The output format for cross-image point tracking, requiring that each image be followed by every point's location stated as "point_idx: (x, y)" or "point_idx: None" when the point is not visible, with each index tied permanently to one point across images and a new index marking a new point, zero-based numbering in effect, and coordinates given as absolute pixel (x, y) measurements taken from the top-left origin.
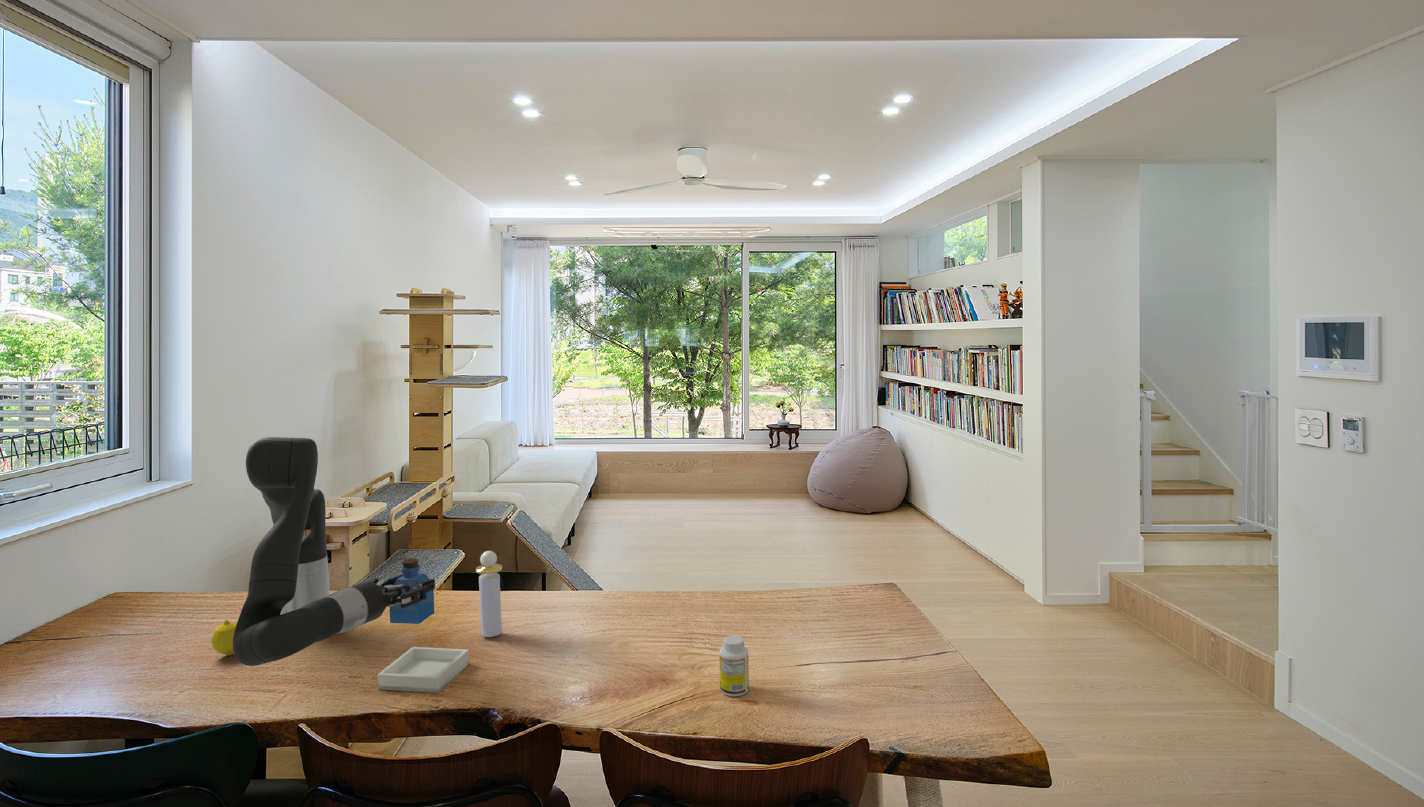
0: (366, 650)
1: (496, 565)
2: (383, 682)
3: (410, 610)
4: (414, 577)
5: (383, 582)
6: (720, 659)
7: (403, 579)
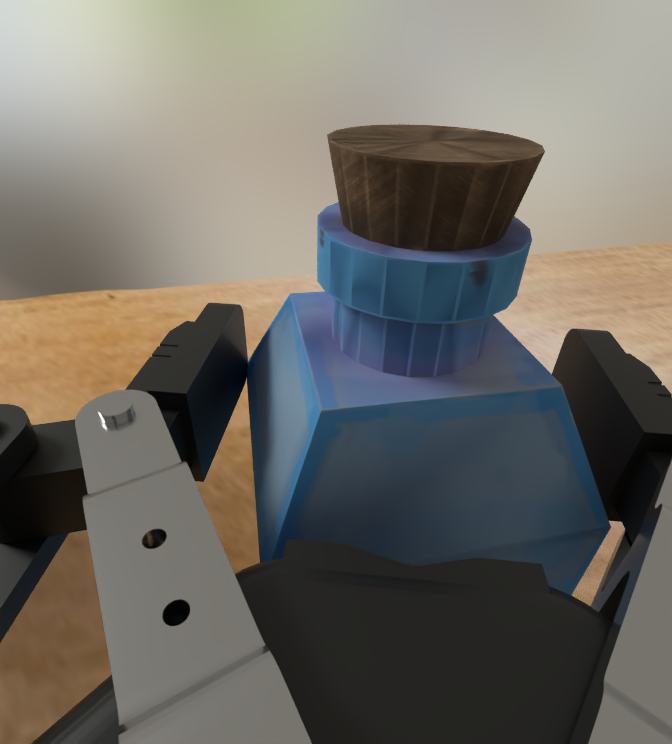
0: (19, 618)
1: None
2: None
3: None
4: (486, 345)
5: (227, 564)
6: None
7: (413, 397)
